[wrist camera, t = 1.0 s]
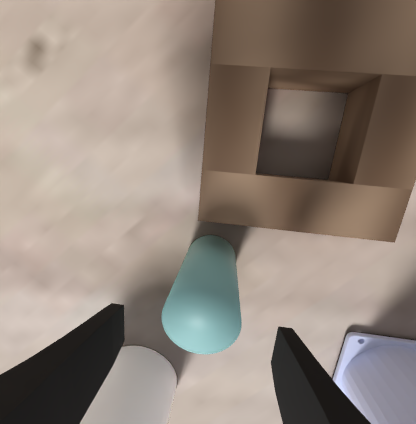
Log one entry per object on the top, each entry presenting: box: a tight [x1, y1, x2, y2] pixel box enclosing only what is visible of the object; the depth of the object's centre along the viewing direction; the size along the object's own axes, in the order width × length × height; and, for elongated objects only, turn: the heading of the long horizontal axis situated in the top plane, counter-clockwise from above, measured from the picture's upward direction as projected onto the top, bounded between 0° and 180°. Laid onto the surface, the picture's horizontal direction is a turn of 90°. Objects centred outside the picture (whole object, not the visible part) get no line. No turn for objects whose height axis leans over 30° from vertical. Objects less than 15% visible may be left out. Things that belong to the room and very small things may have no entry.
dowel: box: [162, 235, 241, 354], centre depth 14 cm, size 4×4×7 cm
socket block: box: [198, 0, 416, 242], centre depth 13 cm, size 12×12×3 cm
